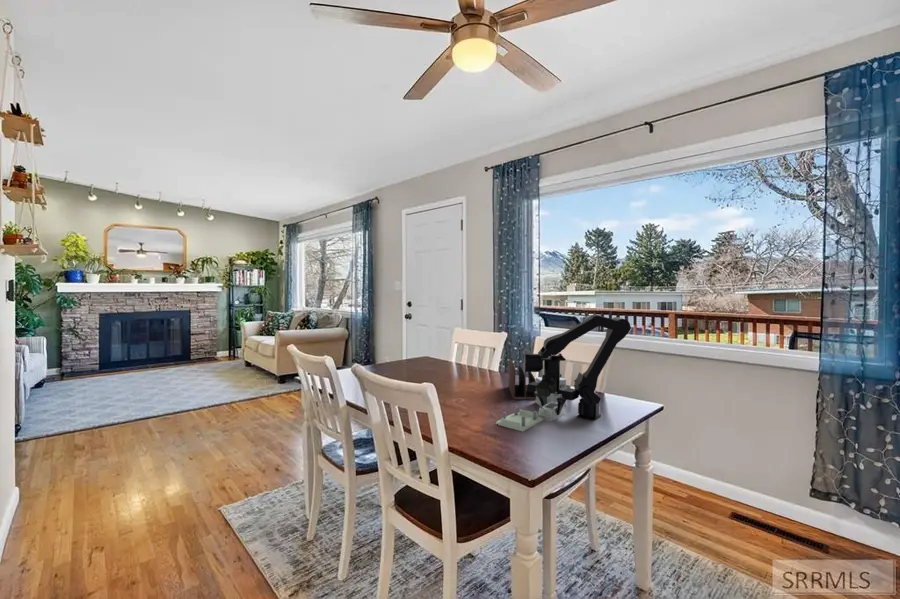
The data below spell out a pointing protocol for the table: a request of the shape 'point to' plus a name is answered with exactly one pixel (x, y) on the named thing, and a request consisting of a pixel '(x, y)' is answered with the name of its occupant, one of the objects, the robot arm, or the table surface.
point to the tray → (520, 419)
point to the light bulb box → (552, 396)
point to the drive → (550, 411)
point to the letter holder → (520, 383)
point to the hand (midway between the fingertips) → (551, 413)
